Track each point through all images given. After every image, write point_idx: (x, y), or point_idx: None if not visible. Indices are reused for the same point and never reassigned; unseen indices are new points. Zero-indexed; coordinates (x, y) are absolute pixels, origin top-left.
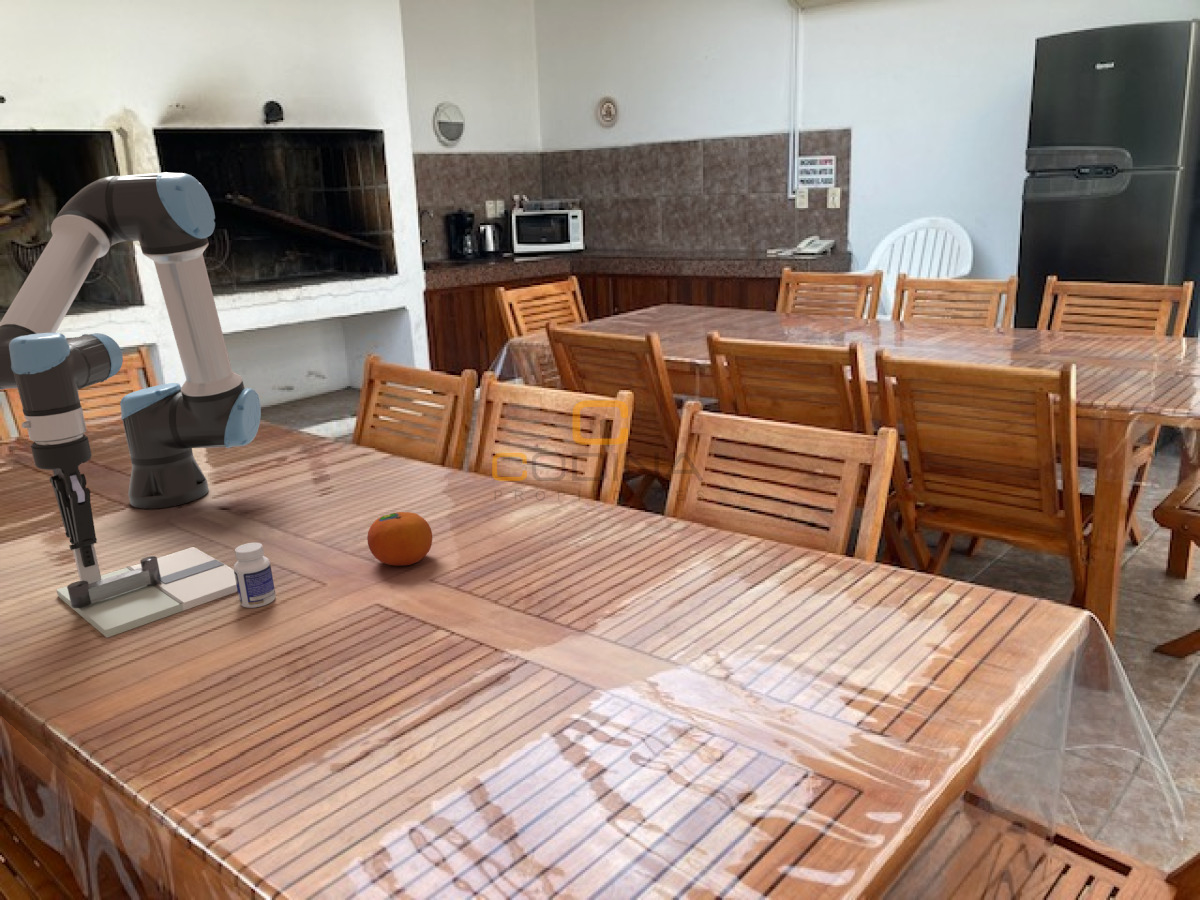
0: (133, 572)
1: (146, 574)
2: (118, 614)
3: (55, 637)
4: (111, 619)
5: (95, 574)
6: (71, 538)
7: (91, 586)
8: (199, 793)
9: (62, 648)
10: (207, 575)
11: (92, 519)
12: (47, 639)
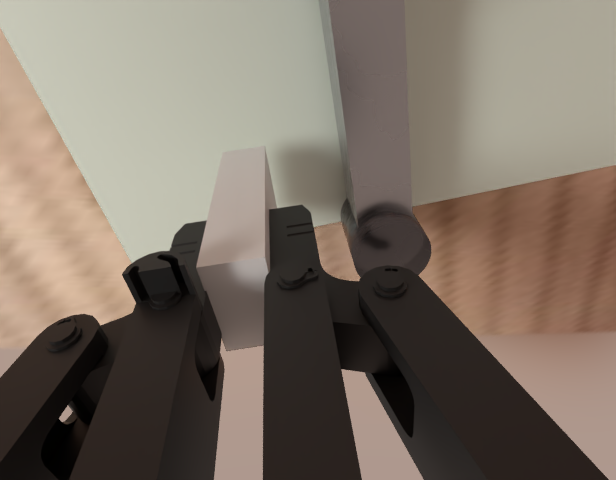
0: (372, 5)
1: None
2: (540, 111)
3: (458, 262)
4: (557, 138)
5: (268, 181)
6: (222, 388)
7: (396, 205)
8: None
9: (542, 251)
10: None
11: (601, 476)
12: (452, 277)
